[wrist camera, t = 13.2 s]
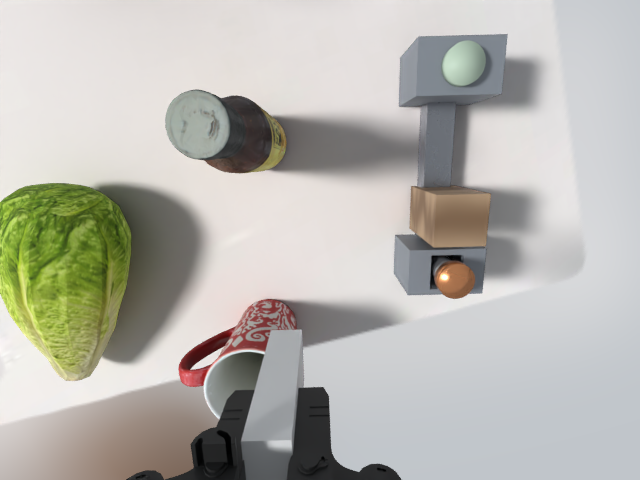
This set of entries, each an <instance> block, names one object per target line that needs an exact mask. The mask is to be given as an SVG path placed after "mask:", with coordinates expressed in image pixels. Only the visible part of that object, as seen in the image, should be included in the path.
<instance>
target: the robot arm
mask: <svg viewBox="0 0 640 480" xmlns="http://www.w3.org/2000/svg"><path fill="white" fill-rule="evenodd" d="M303 386H304V367H303V343H302V330H271V332H270V336H269V339H268V343H267V347H266V350H265V354H264V358H263V361H262V365H261V369H260V373H259V376H258V380H257V384H256V387H255V390H235V391H234V392H233V393H232V394H231V396H230V397H229V398H228V399H227V400H226V403H225V406H224V408H223V412H222V414H221V416H220V420H219V422H218V425H217V427H215V428H210V429H208V430H206V431H203V432H202V433H201V434H199V435H198V436H197V437H196V438H195V439H194V440H193V442H192V443H191V450H192V457H193V464H194V468H193V469H192V470H190V471H188V472H186V473H184V474H181V475H179V476H175V477H173V478H169V479H166V480H401V478H400V477H399V475H398V474H397V473H396V472H395V471H394V470H393V469H391V468H390V467H388V466H385V465H382V464H370V465H368V466H366V467H364V468H363V469H362V470H361V471H360V472H356V471H353V470H350V469H347V468H345V467H343V466H342V465H340V464H339V463H338V462H337V461H336V460H335V458H334V456H333V454H332V451H331V439H330V438H331V437H330V415H329V414H330V413H329V396H328V394H327V392H326V391H325V389H324V388H323V387H313V388H303ZM127 480H164V479H163V477H162V475H161V474H160V473H158V472H156V471H143V472H140V473H137V474H135V475H133V476H131V477H130V478H128V479H127Z"/></svg>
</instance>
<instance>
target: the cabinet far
mask: <svg viewBox="0 0 640 480" xmlns="http://www.w3.org/2000/svg"><path fill="white" fill-rule="evenodd" d="M432 255H453V260H454V261H460V262H462V263H464V264H465V265H466V266H468V267H469V268H470V269H471V270H472V271H473V273H474V275H475V284H474V287H473V289H472V290H471V292H470V293H469V294H476V293H482V290H483V280H484V270H485V259H486V248H485V247H483V246H475V247H435V248H433V247H432V246H431V245H430V244H429V243H427V242H426V241H425V240H424V239H420V238H419V237H418V236H416V235H395V255H394V274H395V276H396V277H397V279H398V280H399V282H400V284H401V285H402V287H403V288H404V290H405V291H406V293H407V295H435V294H442V292H441V291H440V290H439V289H438V288H437V286H436V285H435V281H434V277H433V275H432V274H431V256H432Z"/></svg>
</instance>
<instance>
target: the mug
mask: <svg viewBox="0 0 640 480" xmlns="http://www.w3.org/2000/svg"><path fill="white" fill-rule="evenodd" d="M271 330H297V325H296V318H295V316H294V313H293V312H292V310H291V309H290V308H289V307H288V306H287V305H285V304H284V303H282V302H280V301H276V300H270V299H268V300H261V301H258V302H256V303H254V304H252V305H251V306H250V307H248V309H247V310H246V311H245V313H244V314H243V316H242V318H241V320H240V321H239V323H238V325H237V326H236V327H233V328H231V329H229V330H227V331H224V332H222V333H220V334H218V335H216V336H214V337H212V338H210V339H208V340H206V341H204V342H203V343H201V344H199V345H197V346H196V347H194V348H193V349H192V350H191V351H189V352H188V353H187V354H186V355H185V356H184V357H183V359H182V360H181V362H180V364H179V375H180V379H181V382H182V383H183V384H185V385H187V386H190V387H197V386H203V385H204V395H205V399H206V402H207V404H208V406H209V408H210V410H211V411H212V412H213V414H214V415H215V416H216V417H217V418H218V419H220V416H221V414H222V412H223V408H224V406H225V403H226V400H227V399H228V398H229V397H230V396H231V394H232V393H233V392H234V391H235V390H255V387H256V384H257V380H258V376H259V373H260V369H261V365H262V361H263V358H264V354H265V350H266V347H267V343H268V339H269V336H270V332H271ZM224 346H225V347H224ZM222 347H224V348H223V350H222V352H221V353H220V355H219V357H218V358H217V359H216V360H215V361H214V362H213V363H212V364H211V365H209V366H206V367H204V368H201V369H196V370H190V369H191V368H192V367H193V366H194V365H195V364H196V363H197V362H199V361H200V360H202V359H203V358H205V357H206V356H208V355H210V354H211V353H213V352H215V351H217V350H218V349H220V348H222Z"/></svg>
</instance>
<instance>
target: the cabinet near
mask: <svg viewBox="0 0 640 480" xmlns="http://www.w3.org/2000/svg"><path fill="white" fill-rule="evenodd" d="M507 35H508V34H497V35H459V36H421V37H418V38H417V39H416V40H415V41H414V42H413V44H412V45H411V46H410V47H409V48H408V50H407V51H406V52H405V53H404V54H403V55H402V57H401V58H400V87H399V106H422V105H424V104H426V103H432V102H456V105H470V104H473V103H476V102H479V101H482V100H485V99H488V98H491V97H494V96H497V95H500V94H502V86H503V76H504V65H505V55H506V45H507Z"/></svg>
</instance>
